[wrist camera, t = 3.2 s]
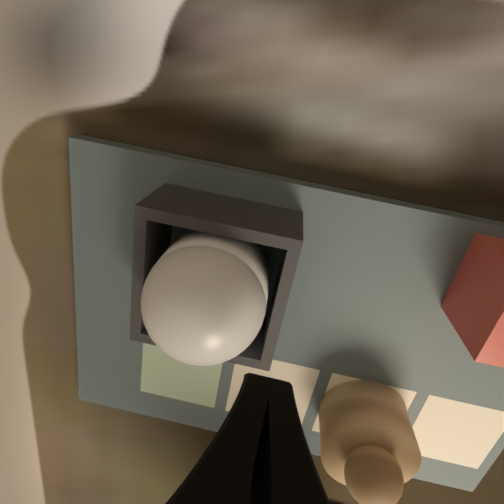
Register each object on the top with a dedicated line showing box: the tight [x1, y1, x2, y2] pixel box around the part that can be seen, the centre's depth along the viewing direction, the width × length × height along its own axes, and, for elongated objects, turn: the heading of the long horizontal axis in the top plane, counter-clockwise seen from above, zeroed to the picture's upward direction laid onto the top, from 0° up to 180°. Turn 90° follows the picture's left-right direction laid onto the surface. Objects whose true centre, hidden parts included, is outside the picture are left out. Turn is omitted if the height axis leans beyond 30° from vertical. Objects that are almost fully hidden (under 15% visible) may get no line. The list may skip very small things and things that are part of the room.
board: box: [68, 134, 504, 492], centre depth 19 cm, size 17×26×4 cm, turn 80°
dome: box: [141, 229, 271, 366], centre depth 15 cm, size 5×5×5 cm
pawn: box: [319, 380, 422, 504], centre depth 19 cm, size 5×5×5 cm
